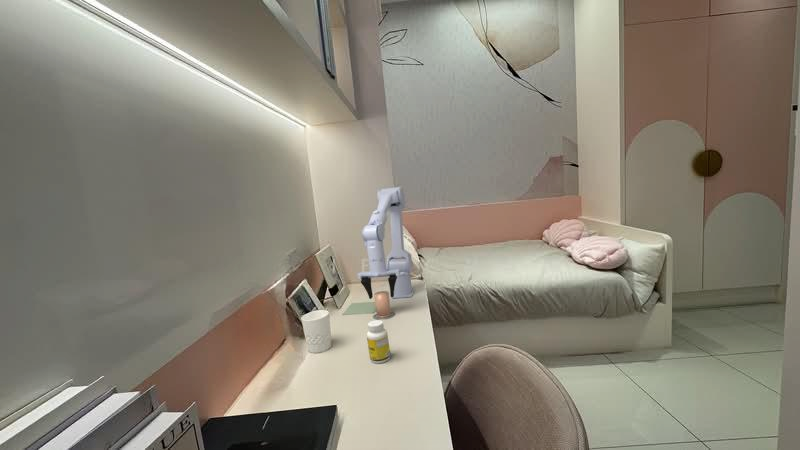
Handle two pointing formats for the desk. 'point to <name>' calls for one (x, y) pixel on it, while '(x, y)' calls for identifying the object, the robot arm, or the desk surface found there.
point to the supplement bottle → (378, 342)
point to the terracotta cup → (382, 304)
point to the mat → (360, 308)
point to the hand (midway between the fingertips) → (381, 297)
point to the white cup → (317, 331)
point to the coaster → (384, 318)
